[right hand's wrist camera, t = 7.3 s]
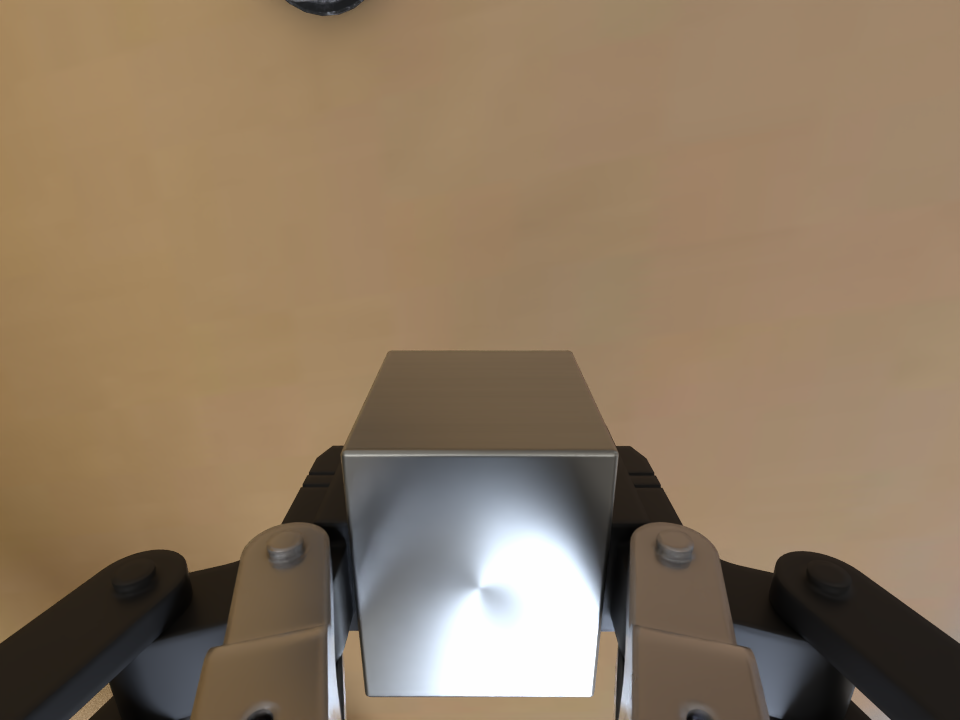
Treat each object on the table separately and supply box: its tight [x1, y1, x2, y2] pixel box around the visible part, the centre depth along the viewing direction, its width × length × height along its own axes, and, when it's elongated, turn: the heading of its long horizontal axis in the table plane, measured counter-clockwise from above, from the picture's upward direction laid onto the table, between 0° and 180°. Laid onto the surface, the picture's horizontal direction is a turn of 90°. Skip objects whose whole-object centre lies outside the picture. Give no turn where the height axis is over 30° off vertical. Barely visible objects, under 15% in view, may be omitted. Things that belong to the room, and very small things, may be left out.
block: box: [341, 351, 619, 697], centre depth 11 cm, size 4×5×4 cm
